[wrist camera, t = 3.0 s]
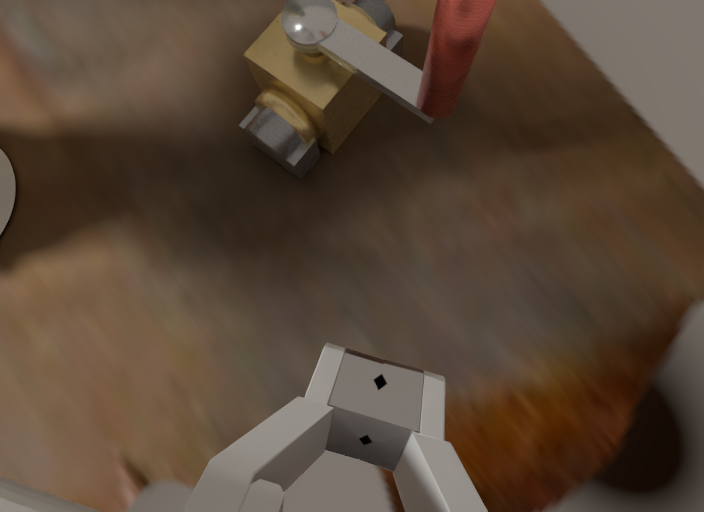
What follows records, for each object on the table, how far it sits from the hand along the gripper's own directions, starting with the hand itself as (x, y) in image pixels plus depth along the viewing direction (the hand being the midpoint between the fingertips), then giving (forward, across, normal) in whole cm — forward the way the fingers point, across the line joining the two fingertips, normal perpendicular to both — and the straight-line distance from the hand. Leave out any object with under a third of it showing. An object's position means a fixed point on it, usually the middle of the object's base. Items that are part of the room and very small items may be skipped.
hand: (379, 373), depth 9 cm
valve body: (+31, +10, +2) cm, 33 cm away
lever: (+23, +6, -3) cm, 24 cm away
